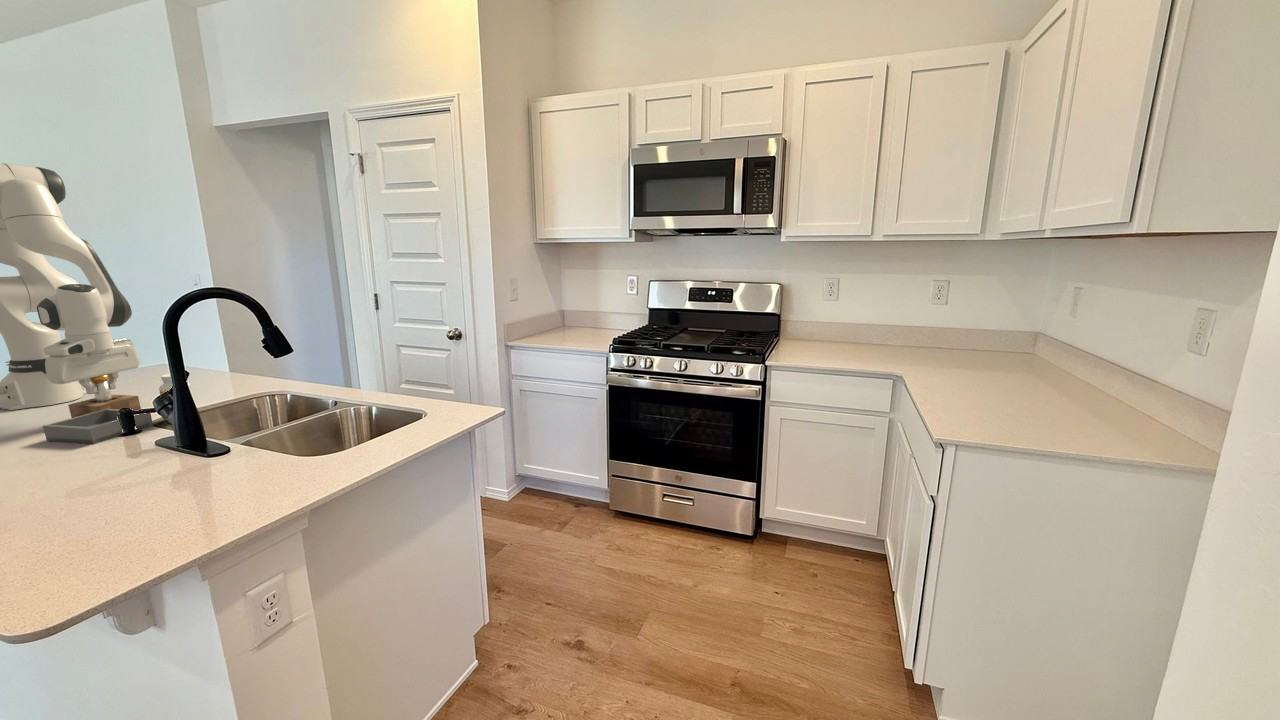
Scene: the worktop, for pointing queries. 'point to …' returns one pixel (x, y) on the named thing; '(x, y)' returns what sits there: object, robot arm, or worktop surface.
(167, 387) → the supplement bottle
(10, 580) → the worktop surface
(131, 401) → the socket block
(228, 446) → the worktop surface
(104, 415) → the tray
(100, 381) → the corked glass vial
